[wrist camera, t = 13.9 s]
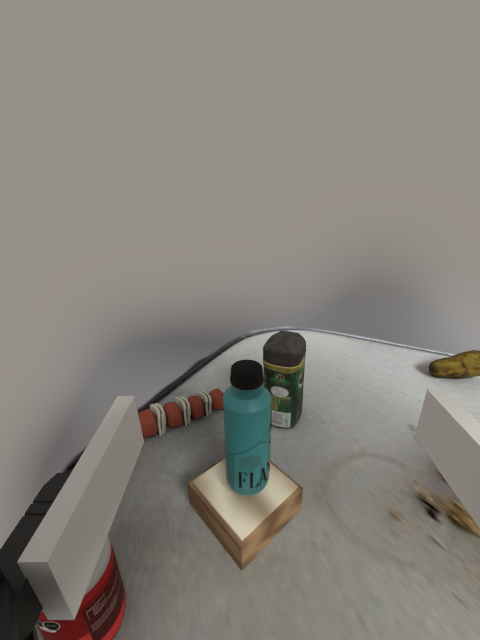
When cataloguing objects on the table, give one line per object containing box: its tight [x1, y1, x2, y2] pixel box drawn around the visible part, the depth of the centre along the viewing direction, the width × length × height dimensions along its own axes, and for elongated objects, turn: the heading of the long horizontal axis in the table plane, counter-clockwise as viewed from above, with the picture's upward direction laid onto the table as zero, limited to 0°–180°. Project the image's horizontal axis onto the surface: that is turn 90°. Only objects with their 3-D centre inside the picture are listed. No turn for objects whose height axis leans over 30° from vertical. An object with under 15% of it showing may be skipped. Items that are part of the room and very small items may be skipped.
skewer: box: [138, 389, 224, 437], centre depth 64 cm, size 5×5×30 cm
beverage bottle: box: [223, 360, 272, 496], centre depth 40 cm, size 6×7×20 cm
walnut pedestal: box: [188, 457, 303, 570], centre depth 45 cm, size 12×12×5 cm
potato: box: [429, 350, 480, 378], centre depth 75 cm, size 8×13×8 cm, turn 58°
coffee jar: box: [263, 331, 306, 428], centre depth 62 cm, size 10×8×19 cm
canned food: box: [36, 536, 126, 640], centre depth 32 cm, size 8×8×11 cm
